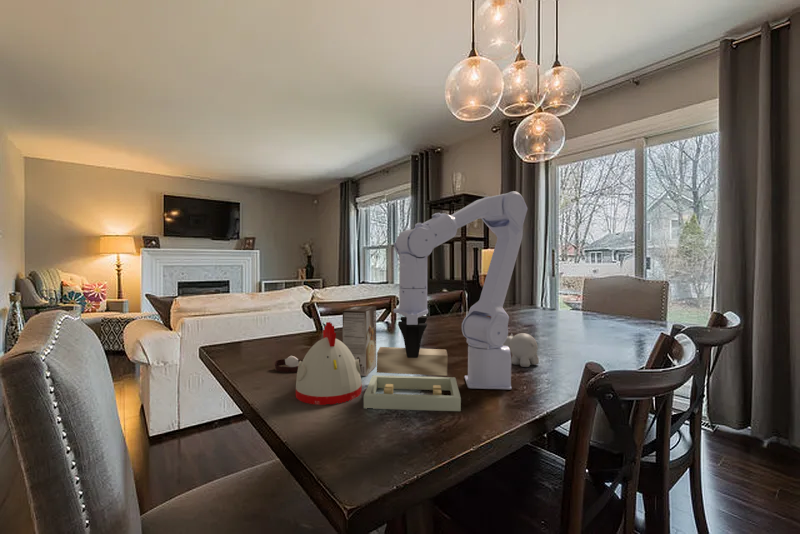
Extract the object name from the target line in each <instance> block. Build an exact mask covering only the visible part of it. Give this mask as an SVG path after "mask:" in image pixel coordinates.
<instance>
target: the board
mask: <svg viewBox="0 0 800 534" xmlns="http://www.w3.org/2000/svg"><path fill="white" fill-rule="evenodd" d="M448 357H449V356H448V351H447V349H441V348H437V349H436V348H420V350H419V355H418V358H407V354H406V349H405V347H395V346H393V347H392V346H391V347H390V346H388V347H387V346H380V347H379V348H378V350H377V351H376V373H378V374H379V373H380V374H382V373H383V374H397V375H398V374H403V375H405V374H406V375H421V376H424V375H425V376H442V377H446V376H447V377H448V359H449V358H448Z"/></svg>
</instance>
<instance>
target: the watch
mask: <svg viewBox="0 0 800 534" xmlns="http://www.w3.org/2000/svg"><path fill="white" fill-rule="evenodd" d="M299 361H303V359H299V358H297V357H296V356H293V355H290V356H288V357H287V358H284V359H283V358H282V359H278V360H276V361H275V362H274V367H275V371H277V372H280V373H297V371H298V365H299Z"/></svg>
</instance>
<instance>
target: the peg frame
mask: <svg viewBox="0 0 800 534" xmlns="http://www.w3.org/2000/svg"><path fill="white" fill-rule="evenodd" d="M378 388H381V389H382V390H383V393H377V391H378ZM394 390H419V391H422V390H424V391H426V390H427V391H428V390H429V391H432V394H407V393H405V394H404V393H402V394H401V393H394ZM442 391H450V395H448V394H447V395H444V394H442ZM461 403H462V398H461V393H460V390H459V386H458V382H457V379H456V377H454V376H453V377H452V376H450V377H449V376H447V377H446V376H417V375H416V376H411V375H410V376H408V375H377V374H376V375H372V376H371V378H370V381H369V383H368V385H367V388H366V389H365V392H364V393H363V409H367V408H373V409H372V410H379V409H380V410H403V411H410V410H411V411H435V412H437V411H439V412H461V411H462V410H461V409H462V408H461V406H462V405H461Z"/></svg>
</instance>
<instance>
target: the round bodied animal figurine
mask: <svg viewBox="0 0 800 534" xmlns="http://www.w3.org/2000/svg"><path fill="white" fill-rule="evenodd" d="M503 346H508V347H509V349H510V353H511V365H514V366H520V367H522V368H529V367H530V366H531V365H532V366H533V365H534V366H536V365H539V359H540V358H539V356H538V354H537V352H538V348H539V347H538V343H537V341H536V339H535V338H534V337H533V335H531V334H529V333H524V332H521V333H517V334H515V335H513V333H510V335H508V336H507V339H506V341H505V343H504V344H503Z"/></svg>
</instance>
